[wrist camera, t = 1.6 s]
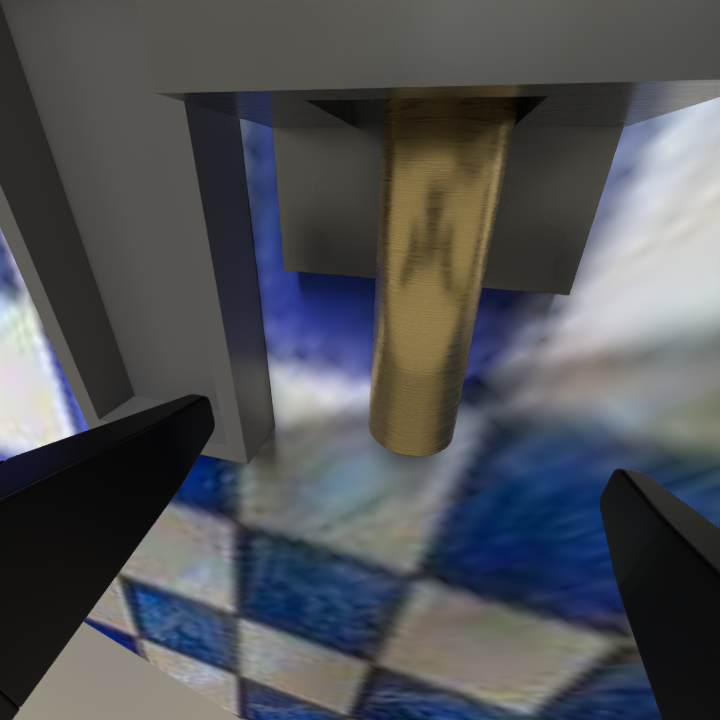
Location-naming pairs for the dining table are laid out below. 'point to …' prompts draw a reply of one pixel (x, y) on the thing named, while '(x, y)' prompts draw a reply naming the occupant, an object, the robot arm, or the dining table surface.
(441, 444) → the pin
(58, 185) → the tray
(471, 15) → the grey block
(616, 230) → the dining table surface
